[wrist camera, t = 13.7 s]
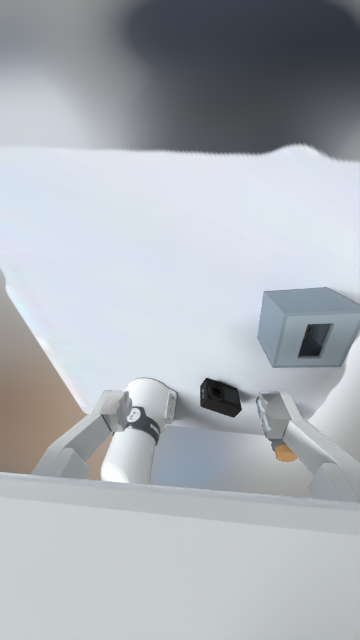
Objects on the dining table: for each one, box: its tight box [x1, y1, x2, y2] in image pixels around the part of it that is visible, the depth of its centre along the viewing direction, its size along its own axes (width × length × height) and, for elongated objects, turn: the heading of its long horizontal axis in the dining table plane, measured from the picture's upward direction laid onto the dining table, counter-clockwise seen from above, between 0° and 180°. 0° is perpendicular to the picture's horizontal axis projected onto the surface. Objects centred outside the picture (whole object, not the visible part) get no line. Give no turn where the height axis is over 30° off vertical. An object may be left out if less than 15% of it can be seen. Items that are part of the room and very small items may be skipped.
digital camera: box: [200, 378, 242, 418], centre depth 49 cm, size 10×5×7 cm, turn 69°
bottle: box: [256, 397, 298, 462], centre depth 47 cm, size 6×6×15 cm
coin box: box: [258, 287, 360, 368], centre depth 34 cm, size 12×12×10 cm
